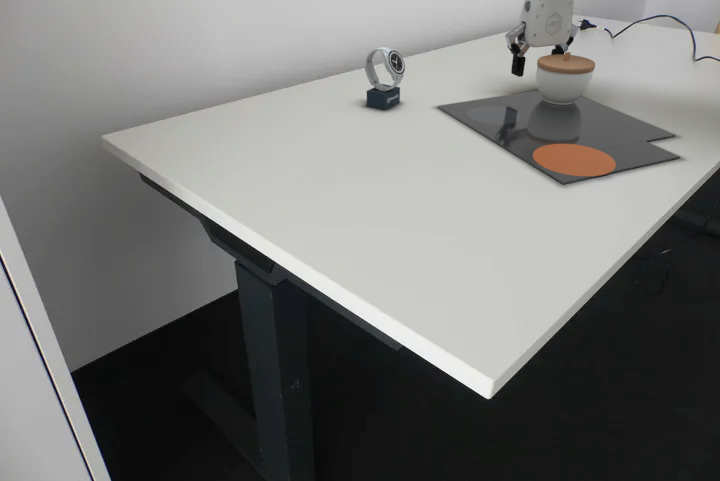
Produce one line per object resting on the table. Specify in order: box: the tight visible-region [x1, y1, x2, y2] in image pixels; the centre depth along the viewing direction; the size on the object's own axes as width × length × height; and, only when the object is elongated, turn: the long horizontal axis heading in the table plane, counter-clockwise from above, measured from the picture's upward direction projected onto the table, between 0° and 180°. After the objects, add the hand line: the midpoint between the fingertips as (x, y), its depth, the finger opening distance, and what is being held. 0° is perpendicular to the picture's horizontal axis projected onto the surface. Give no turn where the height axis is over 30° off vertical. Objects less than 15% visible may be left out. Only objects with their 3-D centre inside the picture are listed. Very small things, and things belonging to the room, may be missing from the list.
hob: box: [437, 90, 681, 185], centre depth 97 cm, size 30×37×1 cm
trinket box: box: [535, 51, 596, 105], centre depth 106 cm, size 11×11×9 cm
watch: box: [364, 46, 406, 111], centre depth 106 cm, size 6×8×11 cm
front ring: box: [533, 144, 616, 177], centre depth 85 cm, size 12×12×1 cm
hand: (536, 72), depth 113 cm, fingers open, 9 cm apart
